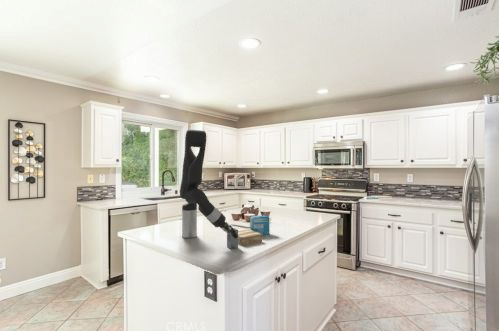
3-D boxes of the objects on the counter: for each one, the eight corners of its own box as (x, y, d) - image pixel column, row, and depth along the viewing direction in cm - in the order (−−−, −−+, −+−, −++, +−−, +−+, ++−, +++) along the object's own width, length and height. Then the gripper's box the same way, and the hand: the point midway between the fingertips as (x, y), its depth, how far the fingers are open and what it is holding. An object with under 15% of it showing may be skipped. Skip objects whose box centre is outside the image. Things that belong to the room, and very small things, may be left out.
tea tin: (226, 247, 148) (227, 229, 148) (234, 245, 151) (234, 228, 151) (230, 249, 144) (230, 230, 144) (238, 247, 147) (238, 229, 147)
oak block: (229, 240, 162) (229, 232, 162) (248, 237, 170) (248, 229, 170) (242, 246, 151) (242, 237, 151) (261, 242, 159) (261, 234, 159)
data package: (252, 236, 172) (252, 217, 172) (250, 234, 176) (250, 216, 176) (269, 234, 176) (269, 216, 176) (267, 232, 180) (267, 215, 180)
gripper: (225, 213, 137) (245, 233, 144) (213, 209, 149) (232, 228, 156) (216, 224, 134) (237, 244, 141) (205, 219, 146) (224, 238, 153)
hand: (234, 236), depth 148 cm, fingers closed on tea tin, 4 cm apart
